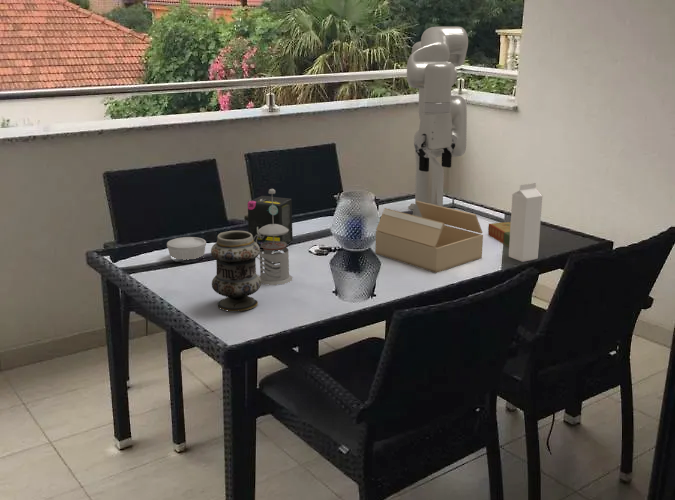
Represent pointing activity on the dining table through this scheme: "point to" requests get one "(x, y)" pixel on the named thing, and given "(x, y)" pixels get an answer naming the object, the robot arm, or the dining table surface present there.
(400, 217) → the near flap
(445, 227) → the kraft box
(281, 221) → the tampon box
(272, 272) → the french press
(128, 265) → the dining table surface
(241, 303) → the apothecary jar
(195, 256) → the ramekin
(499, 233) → the carton
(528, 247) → the milk
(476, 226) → the far flap
